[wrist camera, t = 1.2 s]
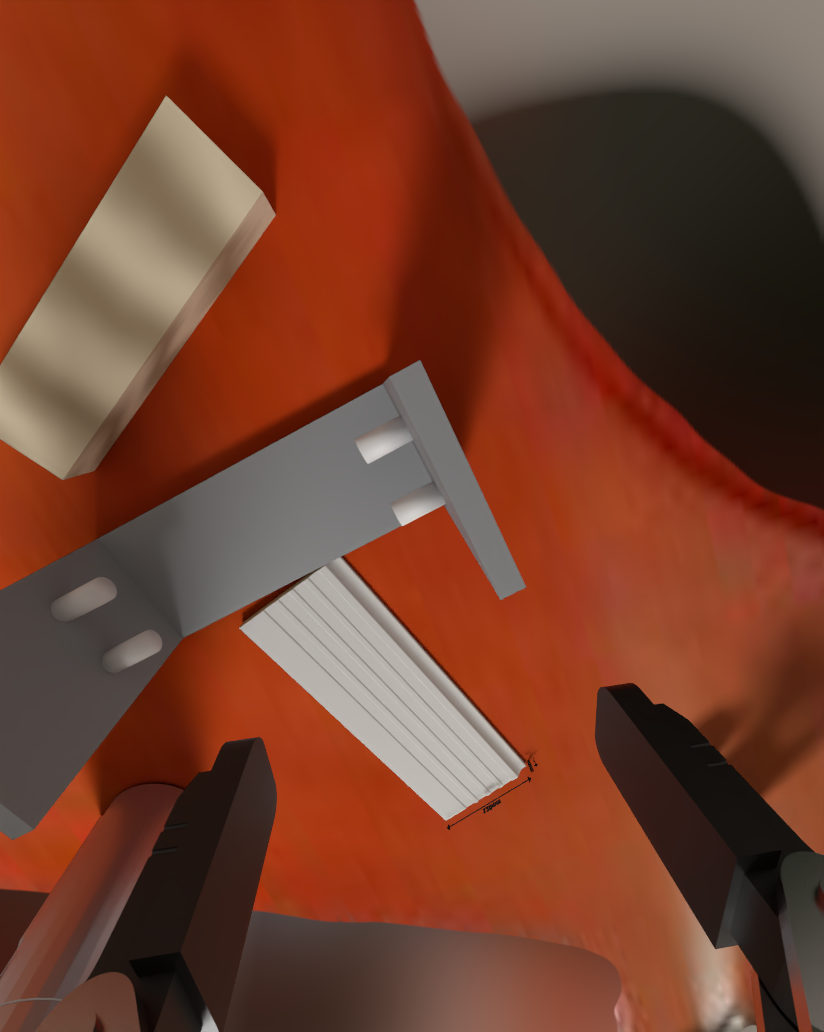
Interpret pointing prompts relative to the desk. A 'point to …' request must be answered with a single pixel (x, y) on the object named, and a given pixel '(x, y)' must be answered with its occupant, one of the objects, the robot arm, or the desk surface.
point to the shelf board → (128, 295)
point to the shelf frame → (216, 572)
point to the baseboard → (384, 688)
